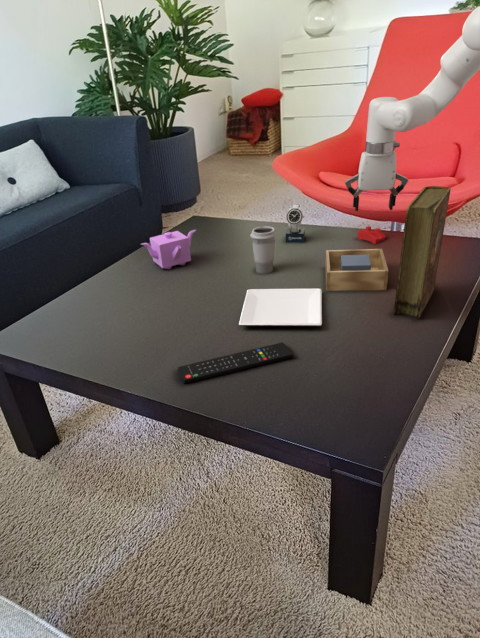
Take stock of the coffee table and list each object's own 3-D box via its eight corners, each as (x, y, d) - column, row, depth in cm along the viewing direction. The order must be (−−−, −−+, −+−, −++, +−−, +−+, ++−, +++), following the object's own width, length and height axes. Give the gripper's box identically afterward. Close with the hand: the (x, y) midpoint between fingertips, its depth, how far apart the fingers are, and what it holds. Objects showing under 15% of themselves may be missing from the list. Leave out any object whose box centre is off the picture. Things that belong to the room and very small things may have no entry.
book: (411, 287, 131) (425, 185, 117) (434, 291, 128) (451, 186, 114) (393, 317, 120) (406, 207, 106) (418, 321, 117) (435, 209, 103)
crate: (380, 268, 142) (382, 248, 139) (386, 291, 130) (388, 271, 127) (325, 269, 145) (325, 250, 142) (326, 292, 133) (327, 272, 130)
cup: (275, 265, 151) (274, 224, 144) (279, 274, 145) (278, 232, 138) (250, 267, 151) (248, 227, 144) (253, 277, 145) (251, 235, 139)
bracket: (357, 239, 161) (358, 230, 159) (367, 235, 163) (368, 226, 161) (375, 244, 156) (376, 234, 154) (385, 239, 158) (386, 230, 157)
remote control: (293, 359, 109) (292, 354, 108) (182, 386, 105) (181, 381, 104) (282, 347, 114) (282, 342, 113) (176, 372, 109) (175, 367, 109)
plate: (247, 295, 136) (247, 288, 135) (321, 295, 132) (321, 287, 131) (238, 331, 121) (238, 323, 120) (321, 332, 117) (321, 324, 116)
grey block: (367, 272, 139) (368, 254, 137) (369, 283, 134) (371, 265, 131) (339, 272, 141) (340, 255, 138) (341, 283, 135) (342, 265, 132)
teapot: (153, 279, 150) (148, 247, 145) (138, 265, 161) (132, 234, 155) (209, 264, 156) (206, 232, 151) (190, 251, 166) (187, 221, 161)
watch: (284, 245, 162) (284, 210, 156) (287, 236, 169) (287, 202, 163) (303, 245, 161) (303, 210, 155) (305, 236, 167) (305, 201, 161)
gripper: (410, 142, 146) (402, 204, 156) (346, 146, 150) (342, 206, 159) (414, 149, 140) (406, 212, 150) (348, 152, 144) (343, 214, 153)
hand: (373, 209), depth 155 cm, fingers open, 9 cm apart
